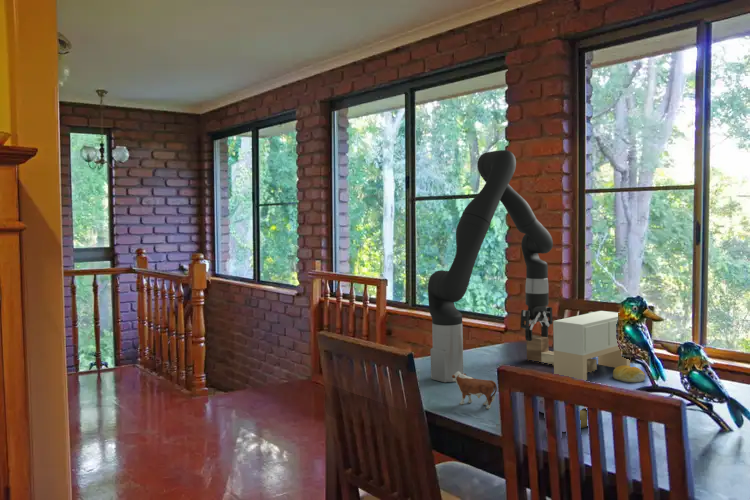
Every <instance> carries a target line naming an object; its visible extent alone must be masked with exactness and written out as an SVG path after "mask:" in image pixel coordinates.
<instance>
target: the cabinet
mask: <svg viewBox="0 0 750 500" xmlns="http://www.w3.org/2000/svg"><path fill="white" fill-rule="evenodd" d="M618 313H619V312H617V311H606V310H597V311H593V312H590V313H589V312H588V313H584V314H579V315H575V316H570V317H565V318H562V319H561V318H560V319H557V320H553V323H552V325H553V326H552V327H553V328H552V329H553V352H554V365H553V375H554V374H559V375H564V376H569V377H574V378H577V379H583V380H587V381H588V372H587V359H590V358H591V359H595V358H596V357H597V366H605V367H608V368H609V367H610V368H614V369H615V368H616V367H618V366H623V365H626V366H630V367H631V359H630V360H629V359H626V358H624V357H622V356H621V353H620V349H619V347H618V344H617V339H616V324H617V320H618Z"/></svg>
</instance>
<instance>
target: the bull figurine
mask: <svg viewBox="0 0 750 500" xmlns="http://www.w3.org/2000/svg"><path fill="white" fill-rule="evenodd" d="M452 378H453V381H455V383H456V384H457V386H458V389H459V391H460V392H461V400H460V402H459V403H458V404H459V405H460V406H462V405H464V404H465V399H466V397H467V398H468V400H467V403H468V404H470V403H473V399H472V396H477V398H478V399H480V398H481V397H482V396H483V395H484V396H485V397H486V399H485V401H484V402H483V403H482V405H483V406H486V408H485V409H486V410H489V409H490V408H491V407H492V403H493V402H494V400H495V398H496V393H497V391H498V387H497V383H496V382H495V381H494V380H491V379H480V378H474V377H471V376H467V374H466V373H463V374H461V373H460V372H459V371H458V372H456V373H455V374H454V375H452Z"/></svg>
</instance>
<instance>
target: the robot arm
mask: <svg viewBox="0 0 750 500" xmlns="http://www.w3.org/2000/svg"><path fill="white" fill-rule="evenodd" d="M514 154H515V153H513V152H511V151H510V150H507V149H504V150H503V149H502V150H492V151H486V152H484V153H482V154H480V156H479V157H478V160H477V171H478V173H479V175H480V176H481V178H482V179H483V180H484V182H485V184H484V186H483V187H482V188H481V190H480V191H479V192H478V193H477V194H476V195H475V196H474V197H473V199H471V201H470V202H468V204H467V206H466V207H465V208H464V209H463V211H462V213H461V216H460V219H459V221H458V224H457V226H456V230H455V244H456V245H455V246H456V247H455V248H456V251H455V255H454V259H453V261H452V262H451V265H450V268H449V270H444V269H443V270H436V271H434V272H433V273H432V274H431V275H430V277H429V279H428V284H427V296H428V297H427V299H428V311H429V315H430V317H431V323H432V324H431V325H432V327H431V329H432V334H431V335H432V348H430V352H429V353H430V379H431V380H434V381H439V382H442V383H451V382H452V383H454V382H455V381H453V378H452V375H454V374H455V373H456V372H458V371H459V372H460V373H461V374H464V343H463V342H464V339H463V336H464V335H463V314H462V312H460V310H458V308H457V307H456V306H455V303H457V302H459V301H460V300H462V299H463V298H464V297H465V294H466V293H467V290H468V286H469V284H470V281H471V277H472V274H473V269H474V266H475V263H476V261H477V258H478V257H479V253H480V250H481V247H482V245H483V242H484V240H485V238H486V235H488V232H489V228H490V225H491V223H492V220H493V217H494V215H495V213H496V210H497V209H498V206H499V203H501V204H502V205H503V206H504V209H506V211H507V213H508V214H509V217H510V219H511V220H512V222H513V224H514V226H515V227H516V229H517V230H518V232H520V233H522V234H524V235H523V237H522V239H521V243H520V244H521V245H520V246H521V251H522V255H523V259H524V262H525V265H526V267H525V268H526V270H525V271H526V273H525V274H526V277H525V279H526V280H525V306H527V308H528V309H527V310H524V309H522V310H521V312H520V313H521V314H520V315H521V316H520V328H521V329H523V330H524V332H525V334H524V335H525V341H526V342H527V341H532V336H533V328H534V326H535V325H536V324H537V323H538V322H539V323H540V324H541V327H540V328H541V329H540V331H541V332H540V333H541V337H548V338H549V327H550V325H553V321H554V320H553V307H551V306H549V279H548V276H549V273H548V271H549V269H548V268H549V266H548V262H546V261H545V260H543V259H541V258H540V256H539V254H541V255H542V254H548V253H549V252H551V250H552V249H553V246H554V241H553V237H552V235H551V233H550V232H549V231H548V229H547V228H546V227H545V226H544V225H543V224H542V223H541V222H540V221H539V219H537V217H536V215H535V213H534V212H533V211H534V210H533V209H532V208H531V206H530V204H529V203H528V202H527V200H526V199H525V198H524V197H522V196H521V195H520V194H519V193H518V192H517V191H516V189H514V188H513V187H512V186H511V185H510V182H511V180H512V178H513V176H514V173H515V171H516V167H517V160H516V156H515V155H514ZM455 383H456V382H455Z"/></svg>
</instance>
